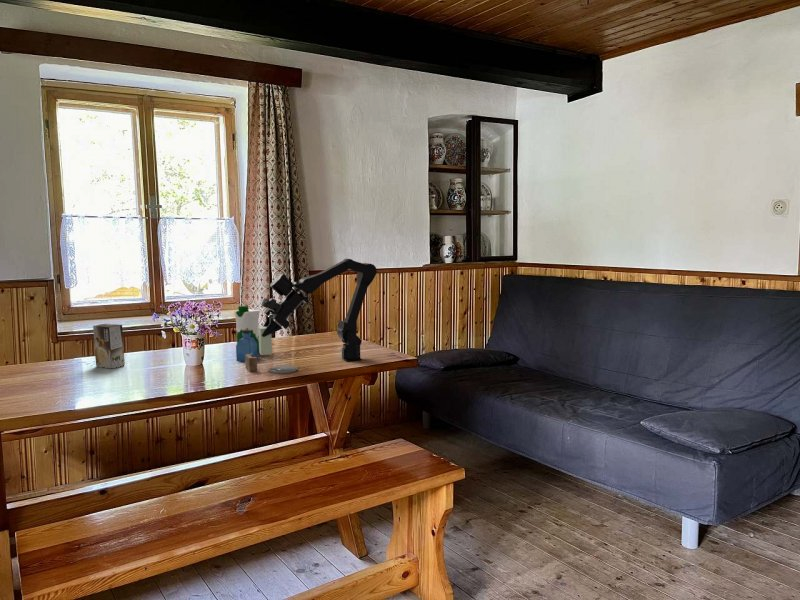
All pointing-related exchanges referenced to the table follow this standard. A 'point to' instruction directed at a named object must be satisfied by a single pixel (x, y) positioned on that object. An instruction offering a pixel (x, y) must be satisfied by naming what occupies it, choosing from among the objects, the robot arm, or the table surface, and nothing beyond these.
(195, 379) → the table surface
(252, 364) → the walnut U-bracket
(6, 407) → the table surface
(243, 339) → the perfume bottle
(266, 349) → the sage peg
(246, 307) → the milk carton
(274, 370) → the stoneware coaster
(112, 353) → the coffee box
